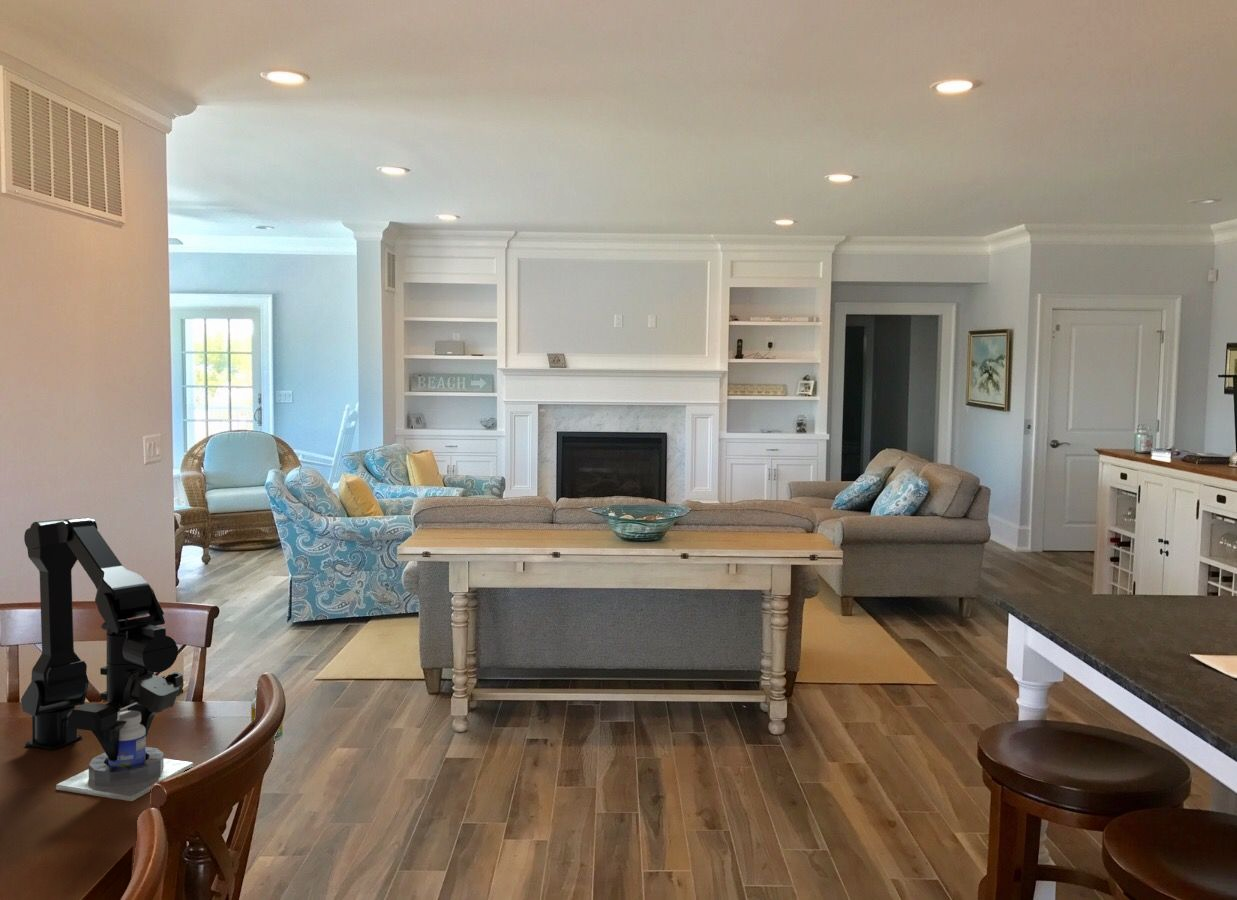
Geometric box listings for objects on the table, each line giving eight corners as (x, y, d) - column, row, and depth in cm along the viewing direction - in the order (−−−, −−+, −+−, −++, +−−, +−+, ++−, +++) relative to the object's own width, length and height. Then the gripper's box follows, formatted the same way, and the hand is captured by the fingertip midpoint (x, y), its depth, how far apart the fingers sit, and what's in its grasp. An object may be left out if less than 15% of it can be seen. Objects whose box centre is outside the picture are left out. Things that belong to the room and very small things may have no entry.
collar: (56, 789, 151) (56, 769, 151) (122, 757, 165) (122, 738, 164) (132, 801, 148) (132, 781, 148) (192, 767, 161) (192, 748, 161)
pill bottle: (101, 779, 154) (100, 719, 153) (119, 765, 159) (119, 708, 158) (134, 780, 154) (134, 721, 153) (152, 766, 159) (151, 709, 158)
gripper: (126, 682, 144) (126, 783, 145) (207, 649, 162) (207, 740, 163) (64, 674, 147) (64, 773, 148) (151, 643, 165) (151, 732, 166)
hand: (126, 754), depth 156 cm, fingers closed on pill bottle, 5 cm apart
